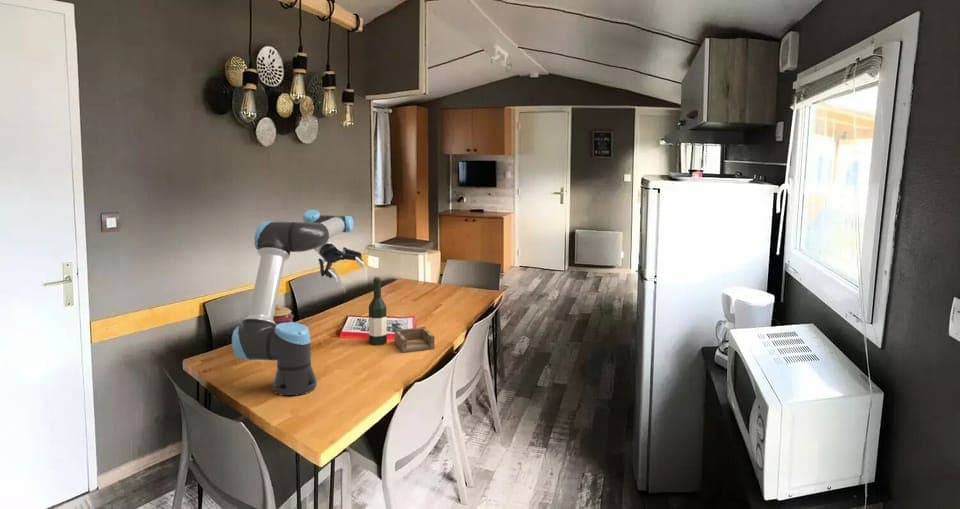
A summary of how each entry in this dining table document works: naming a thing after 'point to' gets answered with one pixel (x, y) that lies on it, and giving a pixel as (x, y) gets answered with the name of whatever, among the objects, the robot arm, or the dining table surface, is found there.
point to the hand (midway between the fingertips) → (350, 272)
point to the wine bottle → (377, 316)
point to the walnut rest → (414, 339)
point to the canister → (282, 315)
